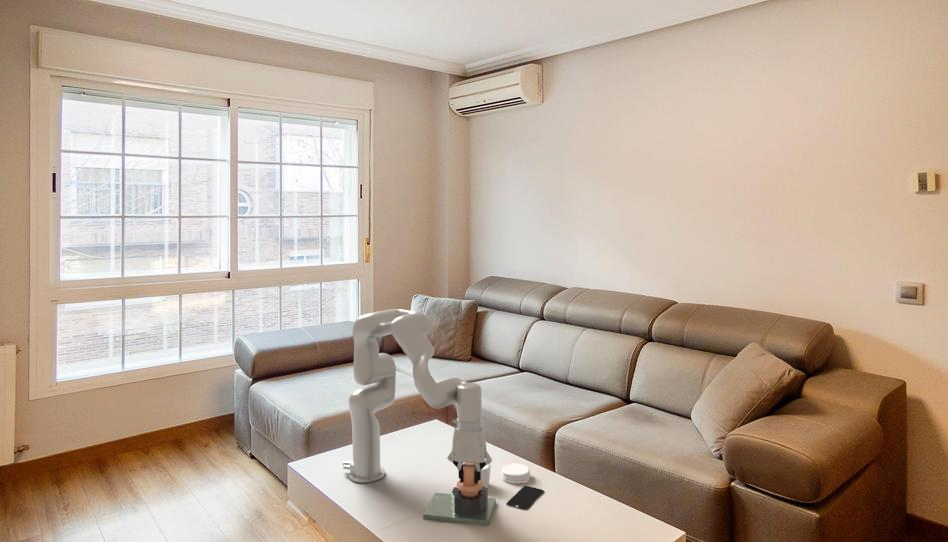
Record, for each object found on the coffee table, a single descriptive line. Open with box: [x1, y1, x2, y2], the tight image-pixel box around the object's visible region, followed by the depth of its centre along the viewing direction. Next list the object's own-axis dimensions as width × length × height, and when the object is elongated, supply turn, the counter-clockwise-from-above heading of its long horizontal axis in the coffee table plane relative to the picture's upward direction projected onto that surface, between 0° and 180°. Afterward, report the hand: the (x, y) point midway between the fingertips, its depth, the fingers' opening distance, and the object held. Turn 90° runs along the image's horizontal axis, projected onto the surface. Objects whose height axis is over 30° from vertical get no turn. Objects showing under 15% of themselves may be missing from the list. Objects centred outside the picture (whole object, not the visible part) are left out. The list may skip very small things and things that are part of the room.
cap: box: [456, 462, 483, 497], centre depth 179 cm, size 8×8×10 cm
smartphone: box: [505, 485, 545, 511], centre depth 188 cm, size 8×1×15 cm
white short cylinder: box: [501, 462, 531, 485], centre depth 203 cm, size 10×10×4 cm
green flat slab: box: [422, 485, 497, 527], centre depth 180 cm, size 20×14×6 cm
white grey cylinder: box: [480, 463, 492, 489], centre depth 197 cm, size 7×7×7 cm
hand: (469, 480), depth 179 cm, fingers closed on cap, 4 cm apart
